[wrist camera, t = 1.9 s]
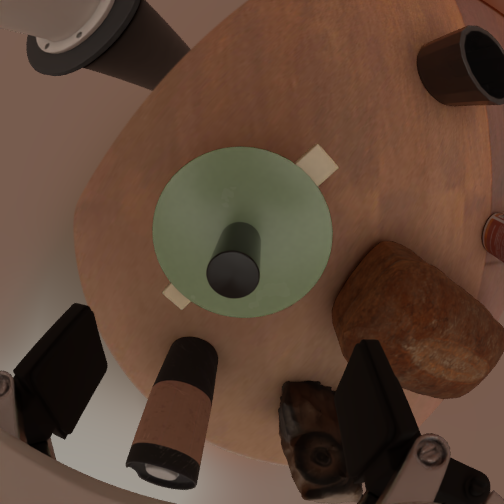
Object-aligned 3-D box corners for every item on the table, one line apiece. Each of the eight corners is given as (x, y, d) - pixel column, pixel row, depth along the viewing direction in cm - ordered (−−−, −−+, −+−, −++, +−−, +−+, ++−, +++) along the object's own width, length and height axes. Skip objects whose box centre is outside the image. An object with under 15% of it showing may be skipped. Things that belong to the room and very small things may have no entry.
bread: (435, 364, 39) (462, 414, 27) (312, 311, 35) (328, 383, 23) (485, 304, 34) (525, 347, 22) (375, 218, 30) (429, 263, 18)
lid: (127, 234, 22) (86, 269, 16) (241, 108, 18) (231, 93, 12) (242, 334, 25) (236, 389, 19) (362, 239, 21) (395, 277, 15)
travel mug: (229, 350, 38) (209, 481, 19) (207, 379, 40) (183, 494, 22) (179, 326, 36) (130, 454, 18) (162, 358, 39) (119, 470, 21)
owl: (279, 376, 39) (283, 498, 21) (359, 371, 39) (391, 482, 20) (276, 420, 44) (277, 517, 26) (343, 415, 44) (361, 508, 25)
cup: (405, 46, 22) (446, 25, 13) (451, 41, 20) (494, 26, 12) (433, 111, 24) (481, 109, 16) (475, 100, 23) (522, 99, 14)
